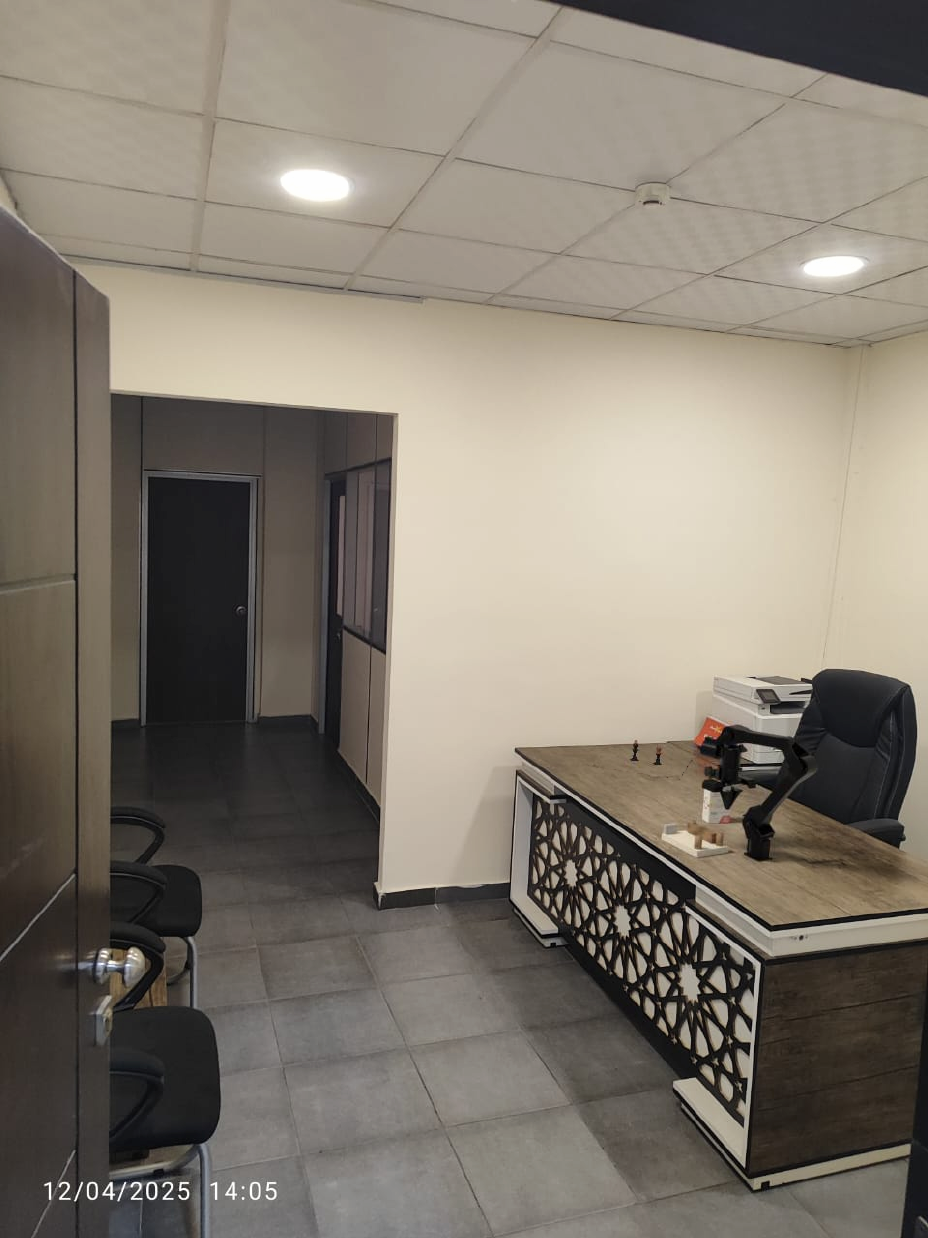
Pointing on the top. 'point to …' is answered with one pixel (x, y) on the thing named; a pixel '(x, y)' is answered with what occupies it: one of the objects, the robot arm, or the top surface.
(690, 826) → the hinged leg
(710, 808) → the ink cartridge box
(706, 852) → the white peg board
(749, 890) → the top surface
